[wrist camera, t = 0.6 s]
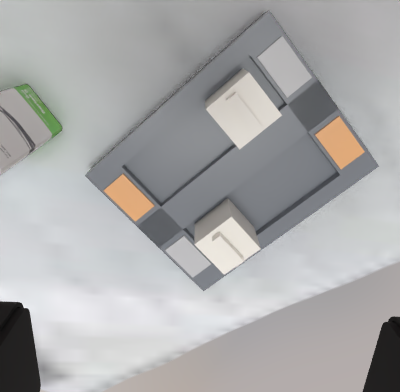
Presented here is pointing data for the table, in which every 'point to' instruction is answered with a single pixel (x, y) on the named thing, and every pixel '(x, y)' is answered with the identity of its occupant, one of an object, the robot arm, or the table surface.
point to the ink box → (23, 125)
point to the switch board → (234, 154)
